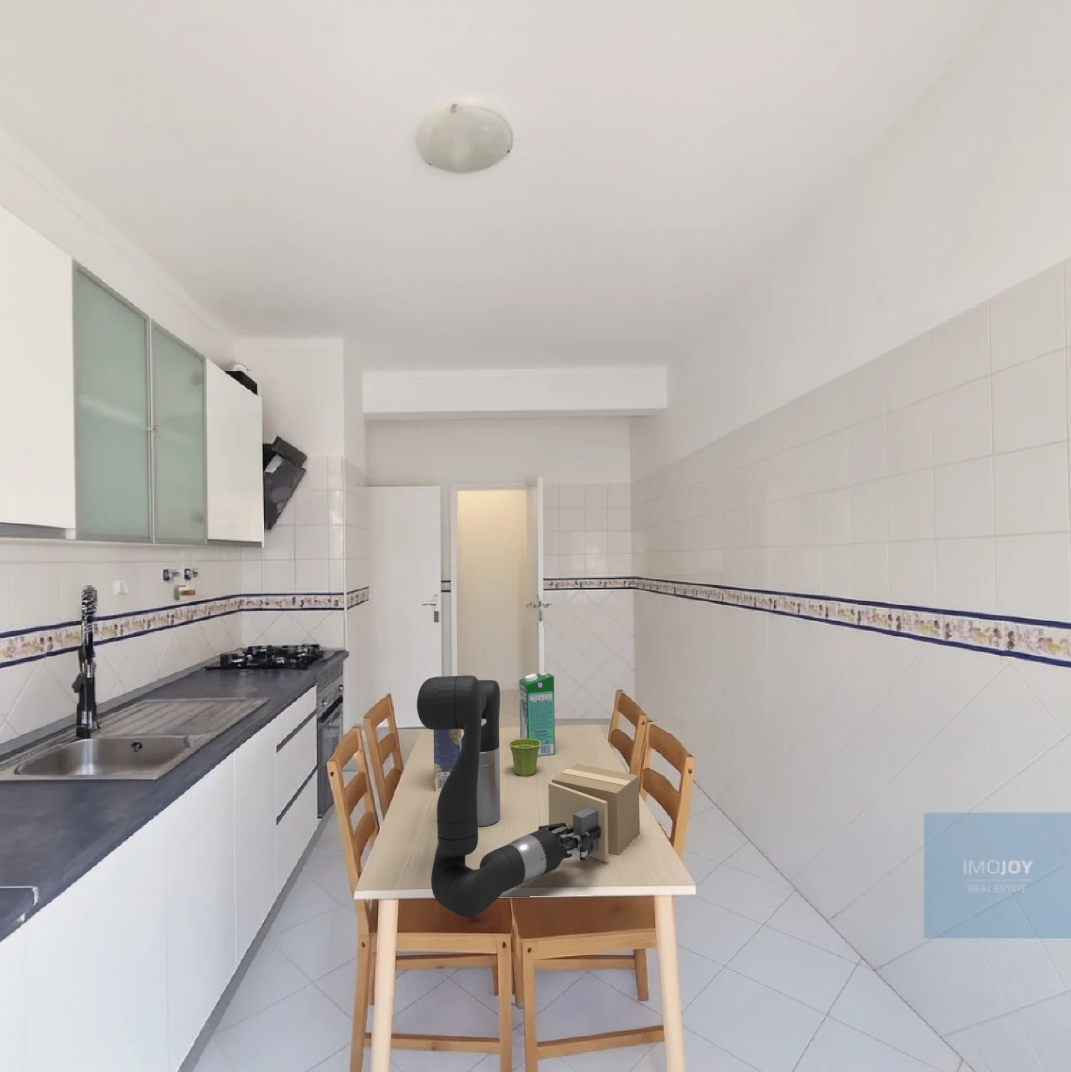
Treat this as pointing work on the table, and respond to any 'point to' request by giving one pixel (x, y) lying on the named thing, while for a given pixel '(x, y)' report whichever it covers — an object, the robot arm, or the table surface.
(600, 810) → the front flap
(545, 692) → the milk carton
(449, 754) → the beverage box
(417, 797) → the table surface
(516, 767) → the plant pot
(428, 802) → the table surface
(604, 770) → the carton
